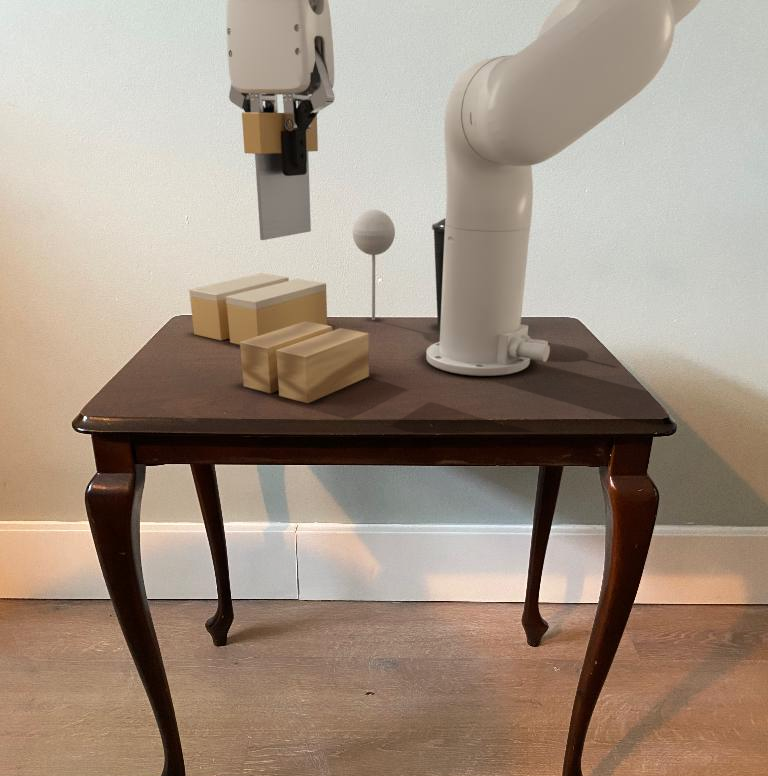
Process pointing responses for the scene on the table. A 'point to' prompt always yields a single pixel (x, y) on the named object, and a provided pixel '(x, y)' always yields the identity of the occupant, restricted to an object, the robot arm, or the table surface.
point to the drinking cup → (439, 262)
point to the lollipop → (373, 238)
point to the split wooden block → (305, 360)
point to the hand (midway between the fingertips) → (283, 172)
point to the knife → (277, 176)
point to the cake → (256, 306)
